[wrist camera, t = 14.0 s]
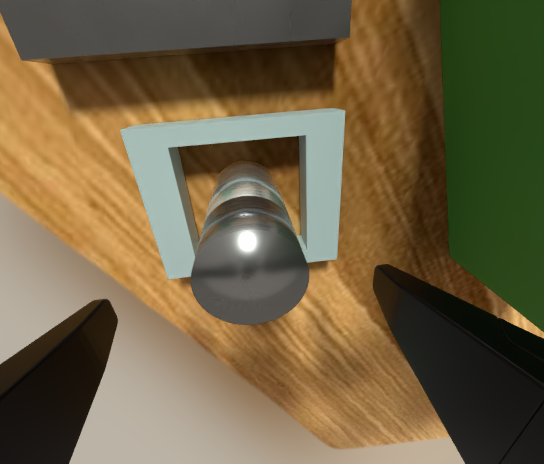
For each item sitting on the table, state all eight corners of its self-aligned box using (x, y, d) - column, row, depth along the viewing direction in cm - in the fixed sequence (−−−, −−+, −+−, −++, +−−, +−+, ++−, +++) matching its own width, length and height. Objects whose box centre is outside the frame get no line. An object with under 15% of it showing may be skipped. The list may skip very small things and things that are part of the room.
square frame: (333, 107, 15) (345, 110, 13) (328, 243, 19) (336, 259, 18) (134, 125, 15) (120, 130, 13) (174, 261, 19) (168, 279, 17)
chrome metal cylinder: (275, 157, 16) (308, 223, 8) (278, 217, 18) (309, 316, 10) (208, 163, 16) (177, 238, 8) (219, 223, 18) (203, 331, 10)
